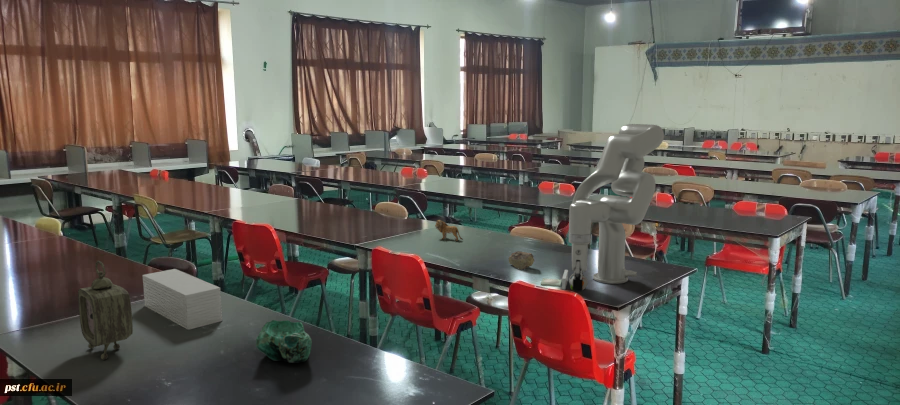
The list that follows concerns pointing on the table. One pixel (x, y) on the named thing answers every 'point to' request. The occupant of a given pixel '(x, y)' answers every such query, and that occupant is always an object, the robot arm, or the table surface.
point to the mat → (551, 282)
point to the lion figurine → (447, 229)
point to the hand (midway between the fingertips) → (578, 287)
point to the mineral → (284, 341)
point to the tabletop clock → (104, 313)
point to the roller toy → (582, 283)
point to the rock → (521, 260)
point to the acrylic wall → (564, 279)
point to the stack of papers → (182, 298)
